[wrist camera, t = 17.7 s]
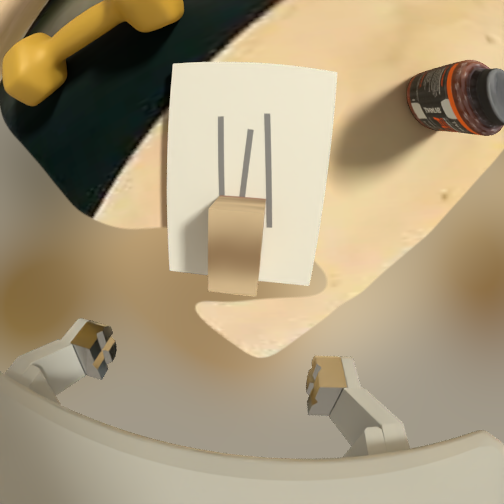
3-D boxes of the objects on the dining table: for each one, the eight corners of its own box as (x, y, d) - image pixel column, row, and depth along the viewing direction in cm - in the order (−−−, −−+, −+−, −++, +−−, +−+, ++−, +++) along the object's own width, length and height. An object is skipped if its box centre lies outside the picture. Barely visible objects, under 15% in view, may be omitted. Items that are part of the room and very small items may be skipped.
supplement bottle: (408, 129, 22) (481, 135, 11) (399, 70, 19) (467, 44, 9) (455, 132, 21) (532, 144, 11) (448, 76, 19) (522, 65, 8)
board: (178, 67, 21) (172, 63, 20) (333, 75, 21) (337, 72, 19) (174, 264, 29) (169, 270, 28) (307, 278, 29) (309, 285, 27)
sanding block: (220, 195, 24) (208, 208, 20) (265, 198, 24) (263, 213, 20) (218, 266, 27) (208, 291, 23) (259, 270, 27) (256, 296, 23)
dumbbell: (50, 110, 23) (0, 114, 16) (42, 52, 20) (-4, 46, 12) (197, 32, 20) (167, -1, 12) (179, -29, 16) (150, -66, 9)
